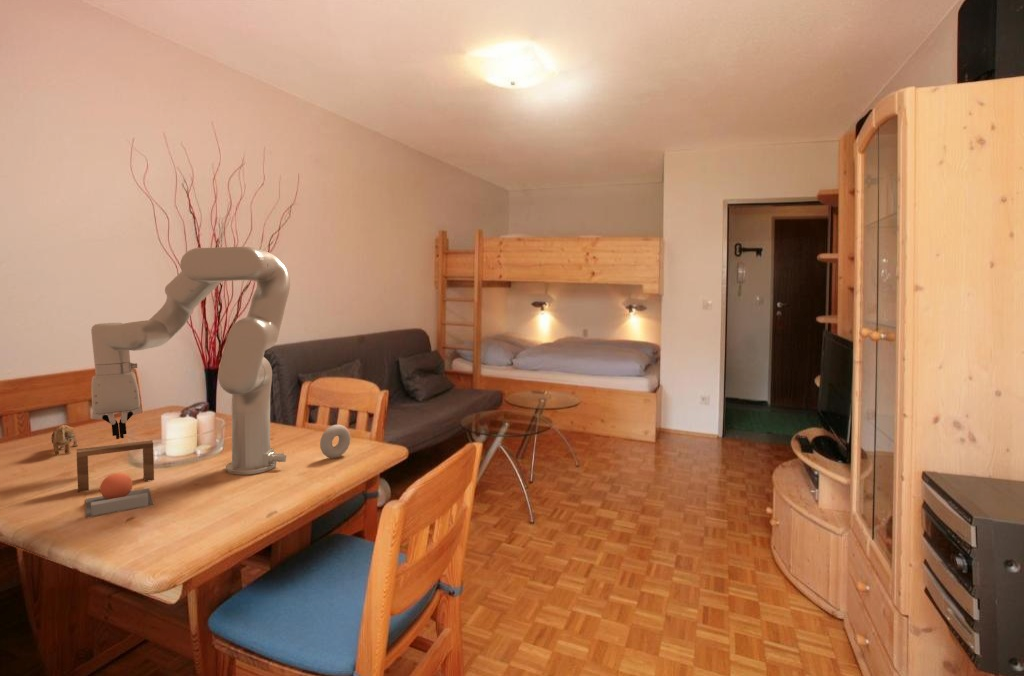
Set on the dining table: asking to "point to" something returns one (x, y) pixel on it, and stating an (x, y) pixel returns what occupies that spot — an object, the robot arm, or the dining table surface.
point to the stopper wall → (119, 504)
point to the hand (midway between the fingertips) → (119, 437)
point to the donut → (328, 438)
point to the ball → (116, 486)
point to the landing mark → (95, 499)
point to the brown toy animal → (63, 438)
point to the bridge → (85, 452)
